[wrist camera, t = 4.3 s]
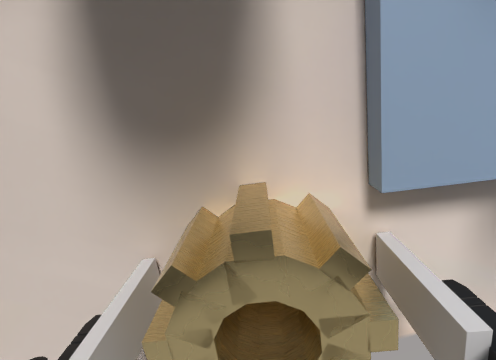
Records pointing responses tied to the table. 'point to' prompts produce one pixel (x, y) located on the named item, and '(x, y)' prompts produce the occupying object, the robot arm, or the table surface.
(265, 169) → the table surface
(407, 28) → the gear board
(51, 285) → the table surface
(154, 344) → the brass gear
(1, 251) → the table surface
